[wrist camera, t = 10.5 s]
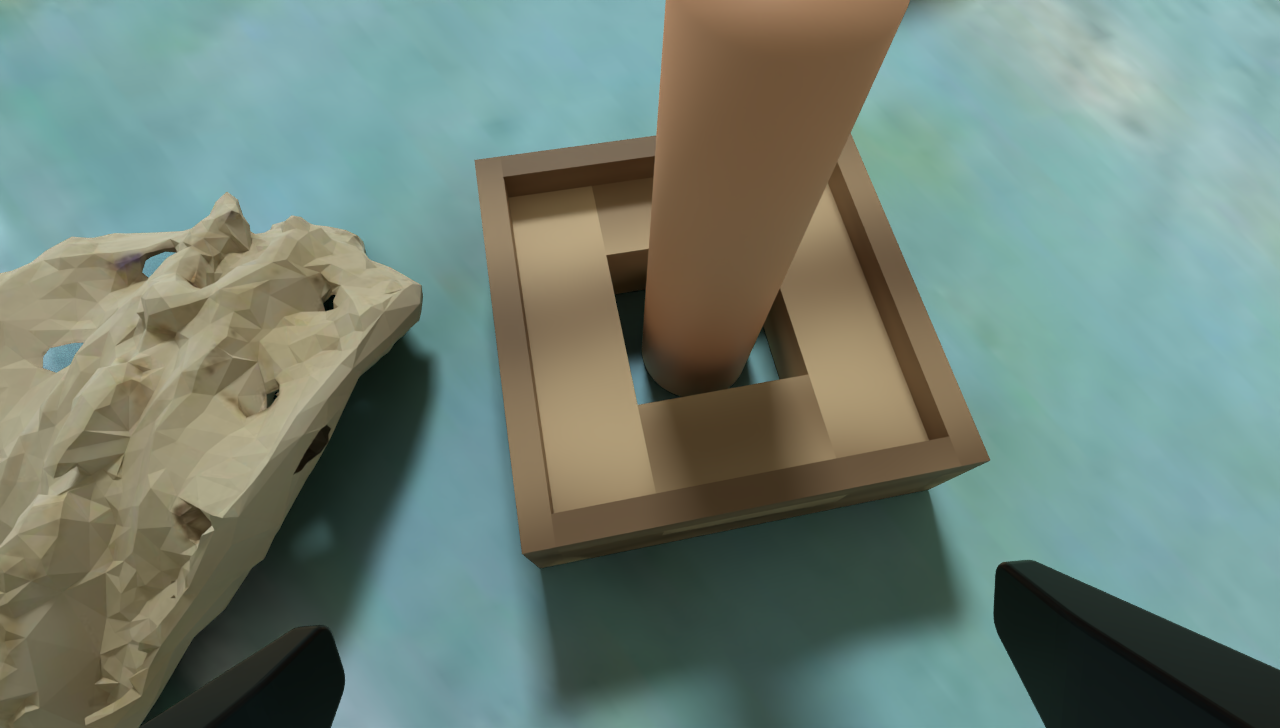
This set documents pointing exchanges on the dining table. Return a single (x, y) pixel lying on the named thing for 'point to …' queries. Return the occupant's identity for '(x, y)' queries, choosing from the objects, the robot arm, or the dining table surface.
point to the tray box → (715, 421)
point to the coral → (163, 441)
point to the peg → (745, 165)
